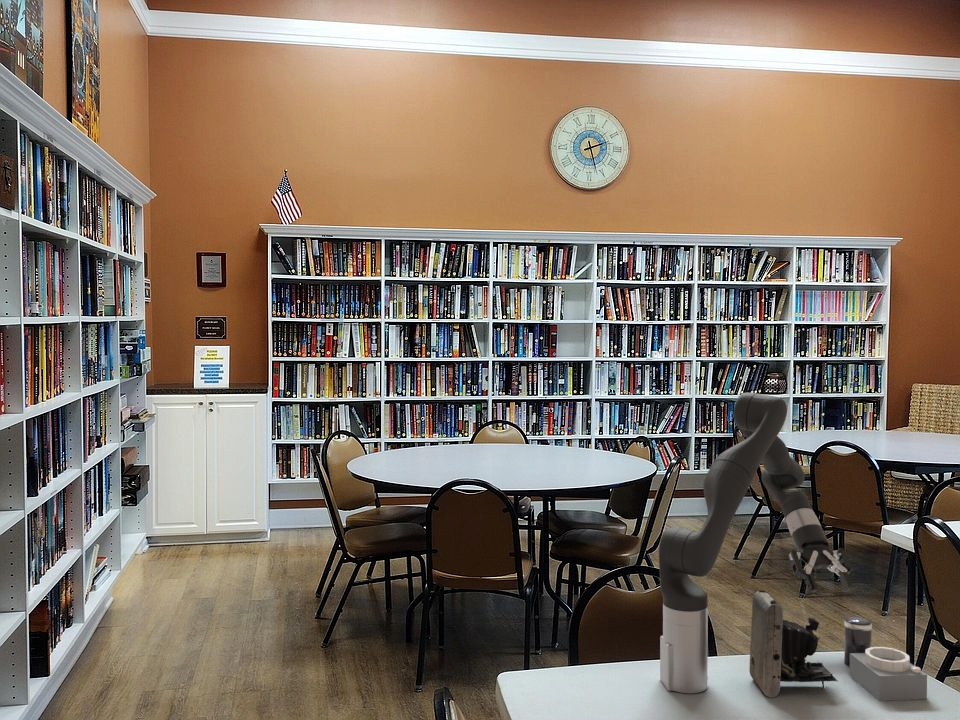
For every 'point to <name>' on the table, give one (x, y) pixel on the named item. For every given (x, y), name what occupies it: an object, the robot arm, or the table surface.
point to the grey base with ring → (888, 674)
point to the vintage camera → (781, 648)
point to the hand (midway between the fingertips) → (831, 590)
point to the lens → (856, 636)
